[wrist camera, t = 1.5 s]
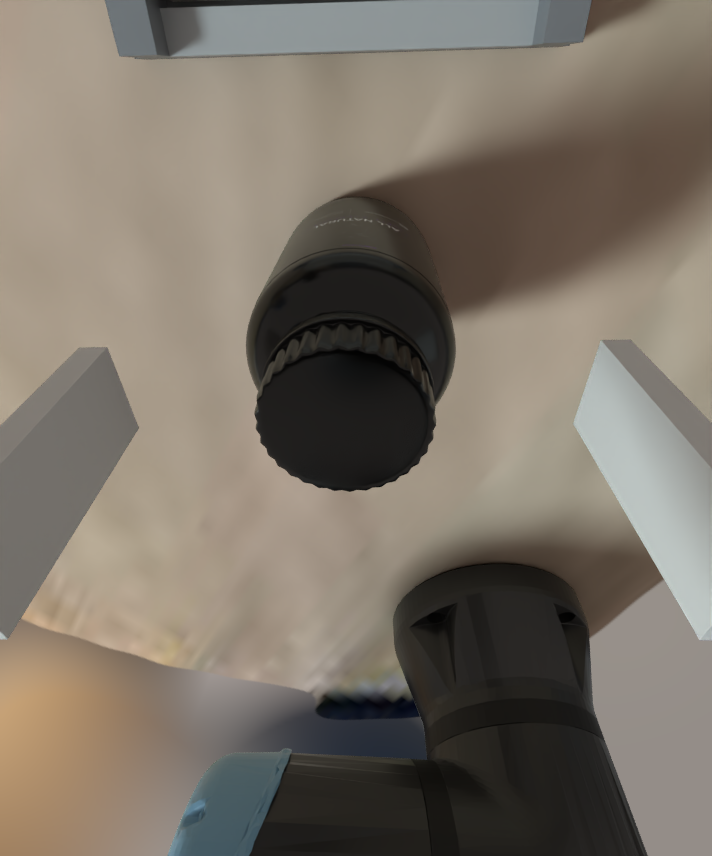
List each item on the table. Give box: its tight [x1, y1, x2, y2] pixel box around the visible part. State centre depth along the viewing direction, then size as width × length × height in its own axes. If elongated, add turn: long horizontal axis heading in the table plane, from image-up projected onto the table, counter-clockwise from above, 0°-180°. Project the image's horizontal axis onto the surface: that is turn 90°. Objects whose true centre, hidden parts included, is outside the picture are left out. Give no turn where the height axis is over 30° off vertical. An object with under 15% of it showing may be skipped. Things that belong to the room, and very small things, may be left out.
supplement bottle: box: [246, 197, 456, 492], centre depth 17 cm, size 7×7×12 cm
